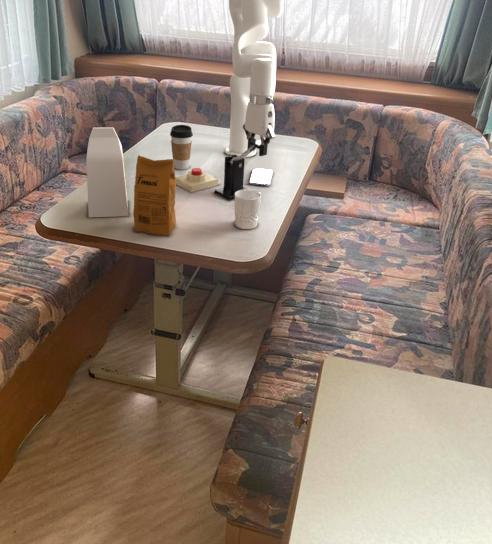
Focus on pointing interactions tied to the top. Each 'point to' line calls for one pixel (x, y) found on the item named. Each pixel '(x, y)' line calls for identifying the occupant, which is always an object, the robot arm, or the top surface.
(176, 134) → the coffee cup
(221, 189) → the switch bracket
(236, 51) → the robot arm
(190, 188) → the control box
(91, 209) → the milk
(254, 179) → the mobile phone
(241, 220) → the white cup
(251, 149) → the switch lever
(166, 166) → the coffee package
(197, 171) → the button
